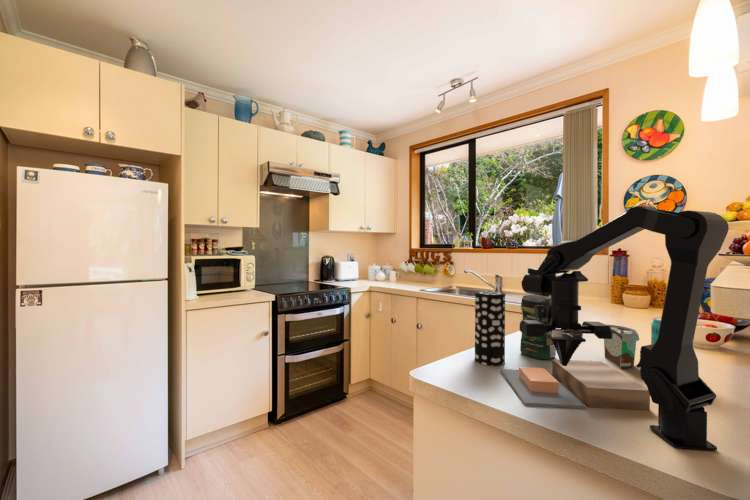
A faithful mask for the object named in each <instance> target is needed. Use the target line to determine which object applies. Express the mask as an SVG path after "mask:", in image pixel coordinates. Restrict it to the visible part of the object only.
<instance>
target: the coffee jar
mask: <svg viewBox="0 0 750 500" xmlns="http://www.w3.org/2000/svg"><path fill="white" fill-rule="evenodd" d="M549 302H551V296H548V297H546V296H540V295H534V294H527V295H523V296H522V298H521V303H520V310H521V313H522V320H537V321H539V322H540V323H542V319H536V318H535V316H534V306H536V305H543V306H544V308H548V303H549ZM542 324H551V323H542ZM545 333H546V332H545ZM519 349H520V350H519V352H520V353H521V354H523V355H526V356H529V357H531V358H535V359H538V360H551V359H552V360H553V359H555V357H556V356H557V355H556V354H557V351H556V349H555V346H554V344H553V342H552V341H551V339H549V338H548V337H546V336H545V335H543V336H542V337H529V336H526V335H525V334H523V333H522V332H521V336H520V346H519Z"/></svg>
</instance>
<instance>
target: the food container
mask: <svg viewBox="0 0 750 500" xmlns="http://www.w3.org/2000/svg"><path fill="white" fill-rule="evenodd" d="M604 324H605V325H608V326H610V328H611V329H612V331H613V338H612V339H603V342H604V343H603V344H604V345H603V346H604V347H603V348H604V349H603V350H604V359H606V360H607V361H608V362H609V363H612V364H613V365H614V366H615V367H616V368H618V369H619V370H631V369H633V368H634V366H635V356H636V349H637V342H639V341H640V337H639V333H638V330H636V329H633V328H630V327H626V326H623V325H622V326H621V325H615V324H607V323H604Z"/></svg>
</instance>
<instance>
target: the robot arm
mask: <svg viewBox="0 0 750 500" xmlns="http://www.w3.org/2000/svg"><path fill="white" fill-rule="evenodd" d="M644 230H647V231H649V232H653V233H656V234H661V235H664V240H665V241H664V244H665V245H664V247H665V249H666V251H667V254H668V257H669V260H670V266H669V267H670V268H669V273H668V281H667V285H666V291H665V295H664V300H663V301H664V302H663V307H662V313H661V317H660V318H661V323H660V328H659V334H658V339H657V341H656V342H655V343H654V344H652V345H651V344H647V345H642V346H641V347H640V349H639V357H640V359H639V362H638V364H637V365H636V367H637V368H639V376H640V379H641V381H643V383H644V384H645V385H646V388H647V389H648V391H649V393H650V400H651V402H652V403H653V404H656V405H658V407H657V408H658V414H657V415H658V416H657V417H658V419H657V421H658V422H657V424H658V425H654V424H650V425H649V429H650V430H651V431H653V432H654V433H655V434H657V435H658V436H659V437H661V438H662V439H663V440H665V441H666V442H667V443H668V444H670V445H671V446H672V447H674V448H675V449H676V448H677V449H687V450H688V449H689V450H704V451H718V447H717V446H716V445H715V444H714V443H712V442H710V441H709V440H708V412H707V411H706V410H705V409H706V408H705V407H707V406H712V405H713V404H714V401H716V398H717V394H716V392H714V391H713V389H711V388H710V386H708V384H707V383H706V382H705V381H704V380H703V379H702V378H701V377H700V376H699V360H698V357H697V355H696V352H695V350H694V347H693V344H694V339H695V333H696V330H697V324H698V318H699V313H700V308H701V302H702V297H703V292H704V287H705V282H706V277H707V271H708V267H709V266H710V264H711V263H712V261H713V260H714V259H715V257H716V256H717V255H718V253H719V252H720V251H721V248H722V246H723V245H724V242H725V240H726V237H727V235H728V232H729V222H728V221H727V220H726V219H725V218H724V217H723V216H722V215H720V214H718V213H716V212H710V211H700V210H682V211H678V212H676V211H670V210H665V209H658V208H656V207H653V206H647V205H645V206H644V205H635V206H633V207H631V208H629V209H628V210H626V212H624V213H622V214H621V215H619V216H617V217H616V218H614V219H612V220H610V221H608V222H607V223H604V224H603V225H601V226H600V227H598V228H596V229H594V230H593V231H591V232H589V233H587V234H585V235H583V236H582V237H580V238H578V239H575V240H571V241H567V242H562V243H559V244H558V245H555V246H554V245H553V246H552V247H550V248H549V249H548V250H547V252H546V256H545V258H544V259H543V261H542V262H541V263H540V265H539V267H538V268H535V267H531V268H527V273H526V274H525V275H523V278H522V281H521V289H522V290H523V292H524V293H526V294H527V295H539V296H545V297H550V298H551V302H549V303H548V308H544V306H543V305H536V306H534V316H535V318H536V319H542V323H551V324H542V323H540V322H539V321H537V320H523V319H522V320H521V321H520V323H519V332H520V333H521V334H522V333H523V334H525V335H526V336H529V337H542V336H543V335H545V336H546V337H548V338H549V339H551V341H552V342H553V344H554V346H555V349H556V354H557V357H558V360H560V363H561V365H562V366H567V364H568V362H569V361H570V360H572V357H573V355H574V353H575V352H576V350H577V349H578V348H579V347H580V345H581V344H582V343H584V342H586V338H584V334H586V335H587V334H588V335H589V334H591V335H594V336H595V337H597V339H599V340H604V339H612V338H613V331H612V329H611V328H610V326H608V325H609V324H606V323H603V322H600V321H587V320H586V321H583V322H582V324H581V323H580V322H579V311H582V306H581V305H579V290H580V289H579V284H580V283H583V282H589V278H588V277H586V275H584V274H583V273H582V271H581V270H580V269H582V267H584V266H585V265H587V264H588V263H589V262H590V261H591V260H592V258H593V257H594V256H595V255H596V254H598V253H600V252H601V251H604V250H606V249H607V248H609V247H611V246H613V245H616V244H618V243H620V242H621V241H624V240H626V239H628V238H630V237H632V236H634V235H636V234H638V233H641V232H642V231H644ZM570 271H572V272H570ZM569 272H570V273H569ZM605 324H606V325H605ZM545 332H546V333H545Z"/></svg>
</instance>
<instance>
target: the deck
mask: <svg viewBox="0 0 750 500" xmlns="http://www.w3.org/2000/svg"><path fill="white" fill-rule="evenodd" d="M551 364H552V367H551V368H552V369H551V371H552V373H551V375H552V376H553V377H554V376H555V377H554V378H555V379H556V380H558V381H559V382H560V383H561V384H562V385H563V386H564V387H565V388H566V389H567V390H569V391H570V392H571V393H572V394H573V395H574V396H575V397H576V398H577V399H578V400H579V401H581V402H582V403H583V404H584V405H585V406H587V407H589V408H604V409H605V408H606V409H622V410H623V409H626V410H627V409H629V410H644V411H645V410H646V411H647V410H648V411H650V410H651V409H650V408H651V396H650V393H649V391H648V388H647V387H646V386H643V385H642V384H640V383H638V382H637V381H635V380H633V379H632V378H630V377H628V376H627V375H625V374H624V373H621V372H620V371H618V370H617V369H615V368H614V367H611V366H610V365H608V364H606V363H605V362H603V361H602V360H601V361H600V360H583V359H582V360H579V359H574V360H573V359H570V361H569V362H568V364H567V366H562V365H561V363H560V360H559V359H555V358H552V363H551Z"/></svg>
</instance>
